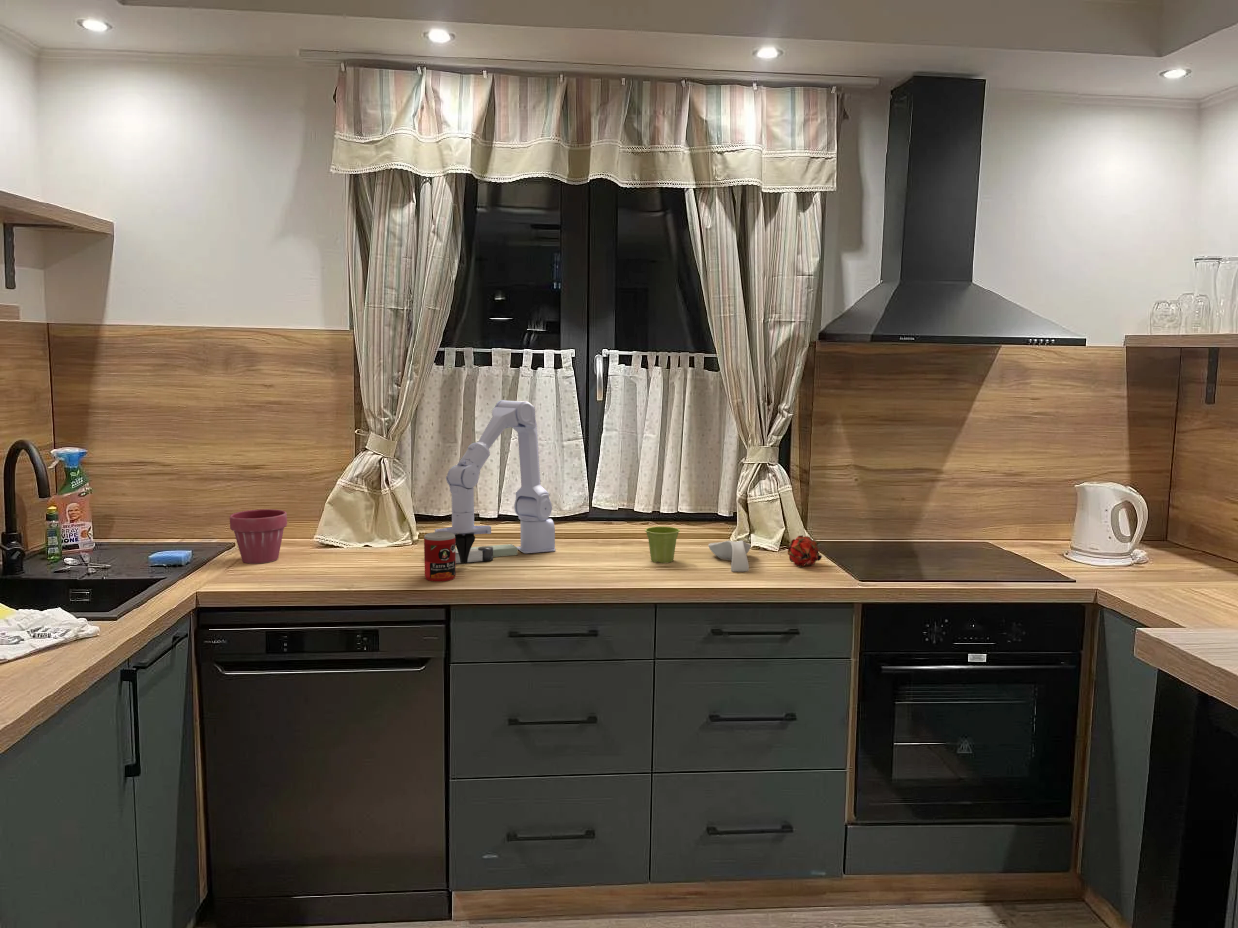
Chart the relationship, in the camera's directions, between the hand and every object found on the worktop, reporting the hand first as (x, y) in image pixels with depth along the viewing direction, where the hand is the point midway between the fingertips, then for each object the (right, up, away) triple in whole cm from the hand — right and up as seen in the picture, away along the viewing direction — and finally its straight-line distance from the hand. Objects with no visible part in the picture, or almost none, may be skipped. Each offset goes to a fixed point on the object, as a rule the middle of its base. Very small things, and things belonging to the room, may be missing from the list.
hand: (463, 562), depth 243 cm
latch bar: (0, 0, +7) cm, 7 cm away
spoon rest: (+72, -1, +10) cm, 72 cm away
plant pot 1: (-56, 0, +7) cm, 57 cm away
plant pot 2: (+52, -1, +10) cm, 53 cm away
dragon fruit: (+90, -2, +6) cm, 90 cm away
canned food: (-4, -3, -11) cm, 12 cm away
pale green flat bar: (0, 0, +14) cm, 13 cm away
